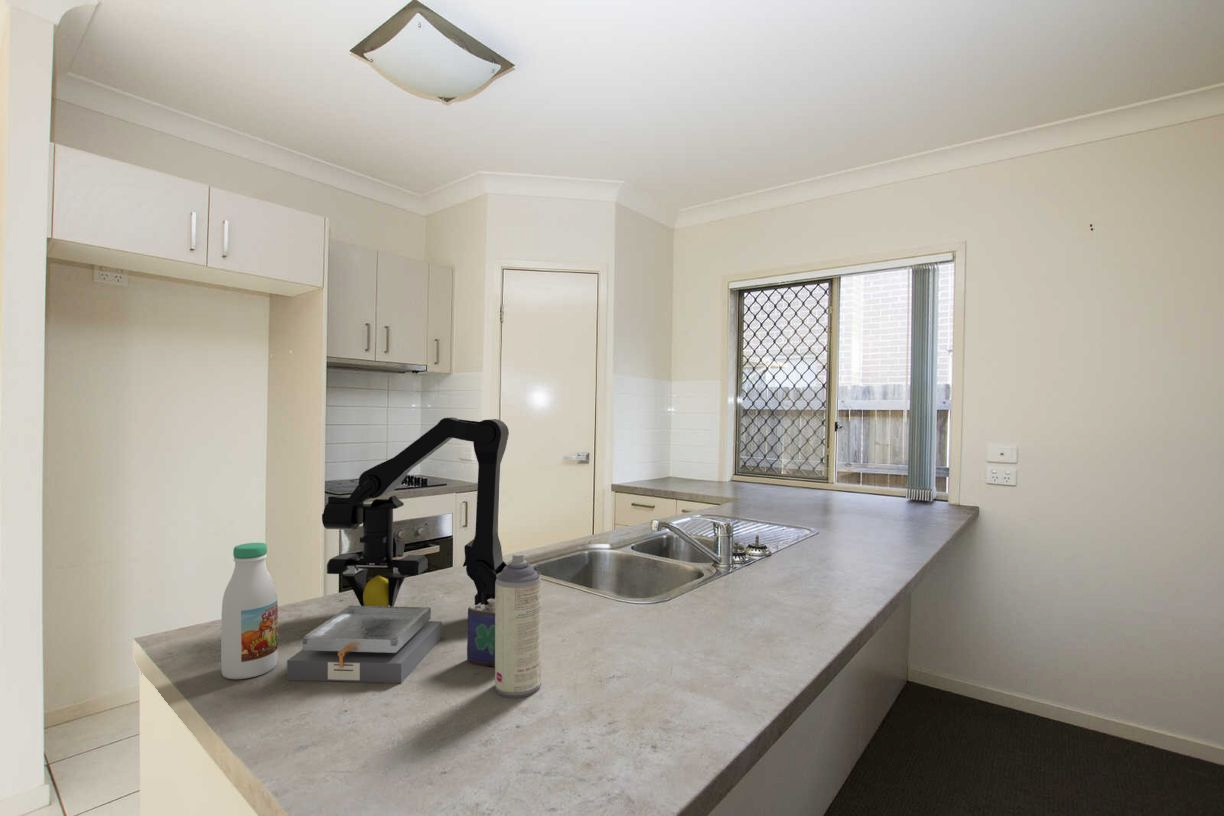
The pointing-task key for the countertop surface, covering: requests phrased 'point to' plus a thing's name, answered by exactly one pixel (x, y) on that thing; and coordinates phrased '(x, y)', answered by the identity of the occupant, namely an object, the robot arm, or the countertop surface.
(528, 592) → the aerosol can
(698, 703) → the countertop surface
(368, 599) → the lemon
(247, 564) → the milk bottle
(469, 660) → the flask
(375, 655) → the base
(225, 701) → the countertop surface
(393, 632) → the scale pan
